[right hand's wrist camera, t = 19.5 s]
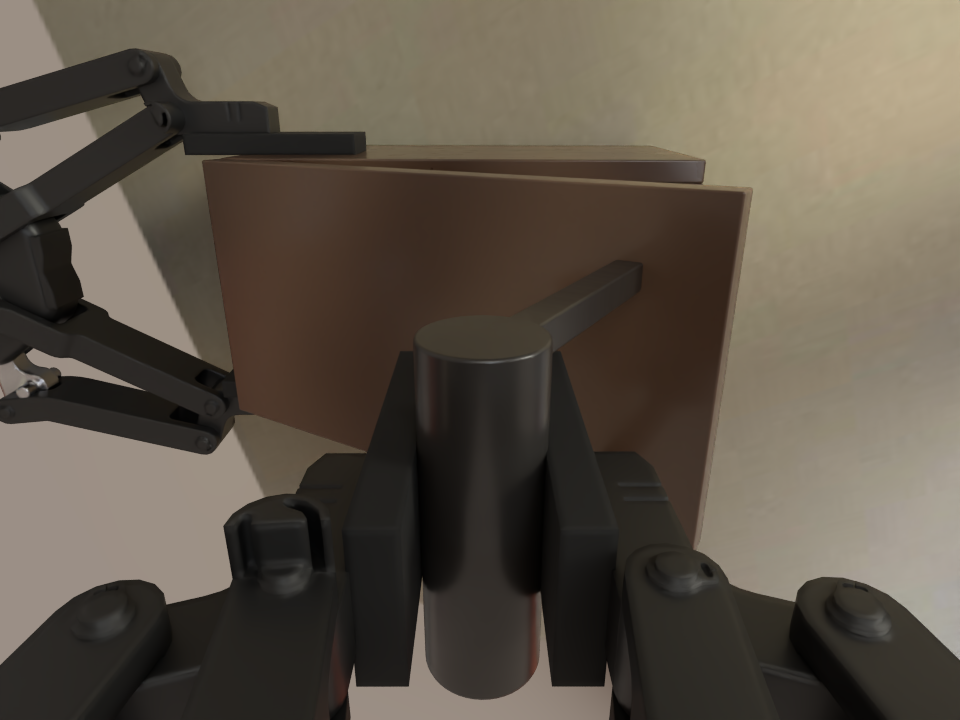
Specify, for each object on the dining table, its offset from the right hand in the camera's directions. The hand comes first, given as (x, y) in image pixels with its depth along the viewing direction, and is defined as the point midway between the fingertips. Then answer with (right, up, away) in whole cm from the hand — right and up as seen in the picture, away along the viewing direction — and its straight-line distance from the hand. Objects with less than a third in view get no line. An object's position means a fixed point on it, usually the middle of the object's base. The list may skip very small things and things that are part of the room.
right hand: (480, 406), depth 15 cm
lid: (-2, +2, +5) cm, 6 cm away
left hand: (-5, +5, +13) cm, 15 cm away
